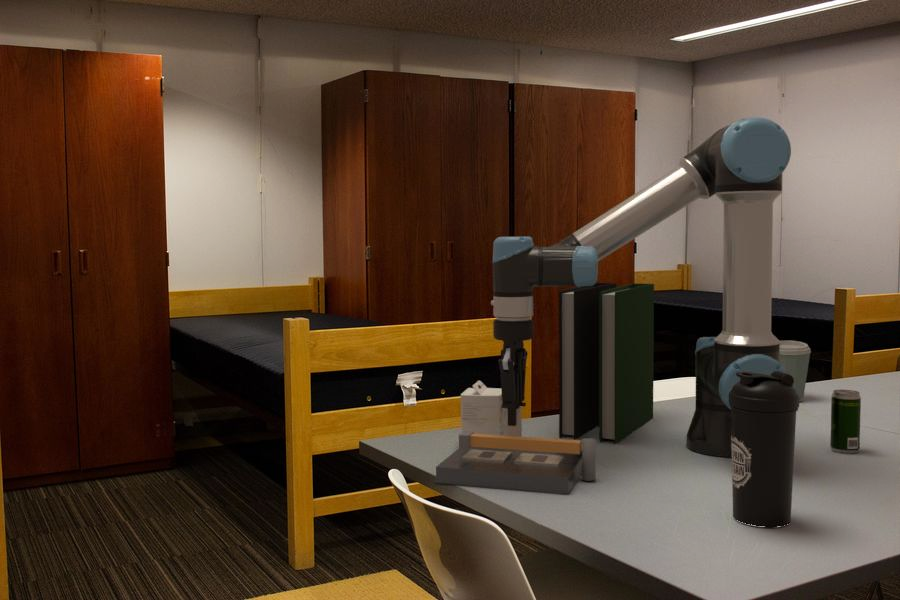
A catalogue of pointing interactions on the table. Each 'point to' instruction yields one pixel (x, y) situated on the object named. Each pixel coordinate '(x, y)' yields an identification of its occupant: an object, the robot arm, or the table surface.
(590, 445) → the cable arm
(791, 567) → the table surface
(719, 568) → the table surface
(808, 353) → the disposable coffee cup
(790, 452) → the water bottle
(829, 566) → the table surface
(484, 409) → the ink box
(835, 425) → the beer can
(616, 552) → the table surface
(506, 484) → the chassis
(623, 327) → the books
